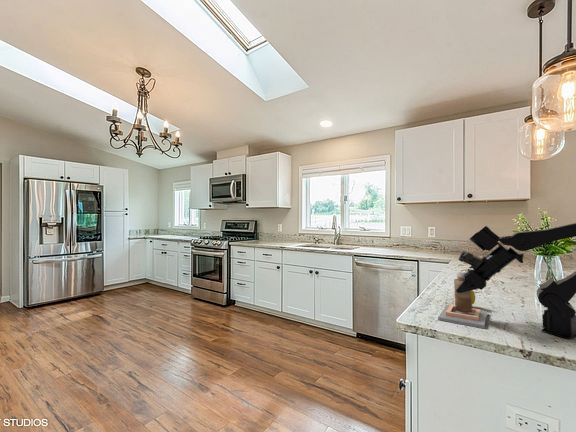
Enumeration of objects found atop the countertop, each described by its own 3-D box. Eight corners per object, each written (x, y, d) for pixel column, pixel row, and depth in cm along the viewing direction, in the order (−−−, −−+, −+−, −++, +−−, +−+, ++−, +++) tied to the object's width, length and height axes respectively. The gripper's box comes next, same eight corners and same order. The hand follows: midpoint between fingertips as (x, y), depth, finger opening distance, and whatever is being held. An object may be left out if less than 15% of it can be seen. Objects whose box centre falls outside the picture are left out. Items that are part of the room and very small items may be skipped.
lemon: (475, 310, 104) (475, 288, 104) (458, 308, 107) (458, 287, 107) (475, 306, 109) (474, 285, 109) (458, 304, 112) (458, 284, 112)
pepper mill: (475, 311, 96) (474, 273, 96) (465, 313, 94) (463, 275, 94) (461, 307, 101) (460, 271, 101) (452, 309, 99) (450, 272, 99)
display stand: (487, 314, 100) (487, 307, 100) (484, 328, 87) (484, 321, 87) (446, 307, 108) (446, 301, 108) (438, 320, 95) (438, 313, 95)
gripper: (476, 241, 103) (444, 268, 109) (471, 246, 88) (434, 277, 95) (504, 264, 97) (468, 291, 104) (503, 273, 83) (462, 304, 90)
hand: (458, 290), depth 98 cm, fingers open, 5 cm apart
